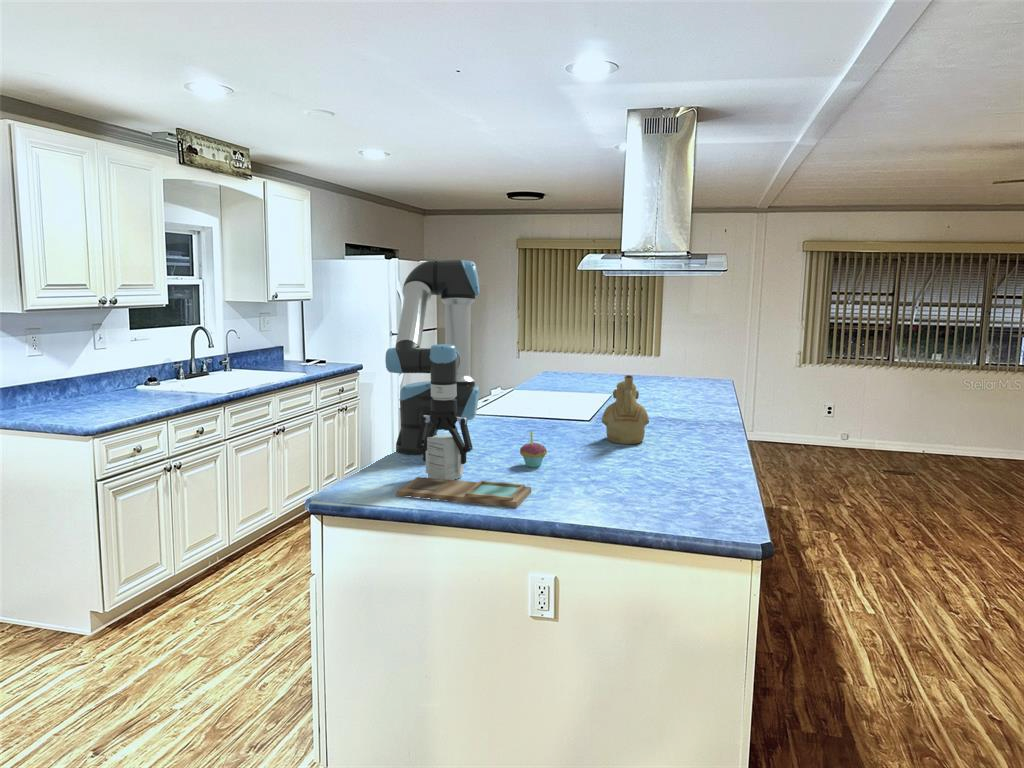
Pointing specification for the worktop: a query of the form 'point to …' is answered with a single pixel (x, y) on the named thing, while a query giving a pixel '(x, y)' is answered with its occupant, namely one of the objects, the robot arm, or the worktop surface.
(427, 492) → the board
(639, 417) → the ceramic vessel
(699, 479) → the worktop surface
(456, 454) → the supplement box
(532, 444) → the cupcake
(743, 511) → the worktop surface
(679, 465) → the worktop surface
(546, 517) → the worktop surface
